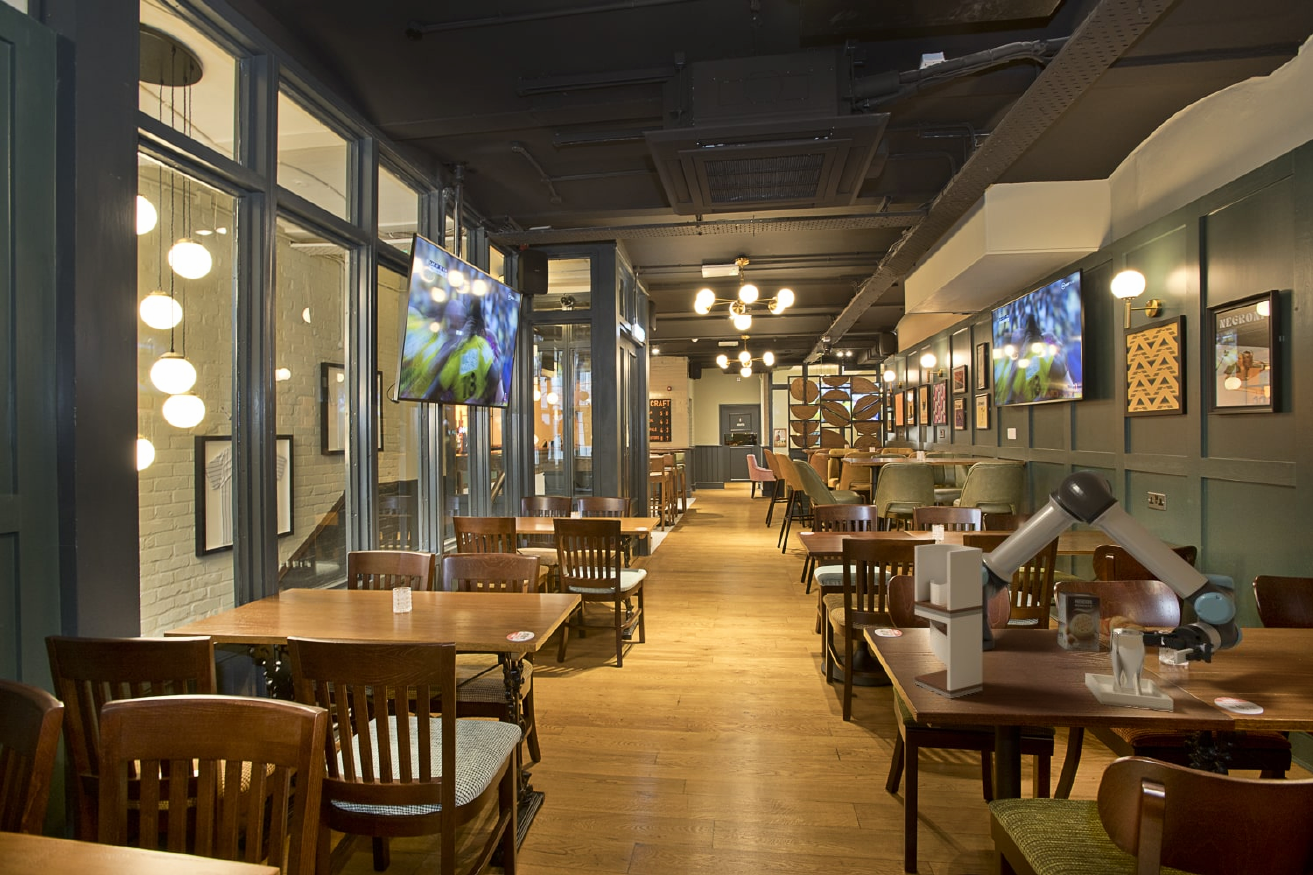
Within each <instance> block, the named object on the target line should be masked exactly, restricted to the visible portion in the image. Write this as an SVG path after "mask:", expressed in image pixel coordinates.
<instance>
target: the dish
mask: <svg viewBox="0 0 1313 875" xmlns="http://www.w3.org/2000/svg"><path fill="white" fill-rule="evenodd" d="M1084 675H1085V677H1084V678H1085V679H1084V680H1085V682H1084V683H1085V685H1086V687H1087V688H1088V689H1089V691H1090V692H1091V693H1092V694H1093V695H1094V697H1095V699H1097V701H1098V702H1099V704H1100V705H1103V706H1104V704H1105V706H1111V705H1114V706H1113V707H1120V706H1131V707H1138V708H1149V709H1156V710H1169V711H1173V712H1174V699H1173V698H1171V697H1170V696H1169V695H1168V693H1166V692H1165V691H1164V690H1163V689H1162V688H1161V687H1160V686H1158V684H1156V682H1154V681H1153V680H1152V679H1147V678H1141V688H1142V693H1143V695H1133V694H1124V693H1115V692H1112V687H1113V683H1114V675H1110V674H1109V675H1108V674H1101V673H1100V674H1099V673H1089V672H1085V674H1084Z"/></svg>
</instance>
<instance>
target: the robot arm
mask: <svg viewBox="0 0 1313 875" xmlns="http://www.w3.org/2000/svg"><path fill="white" fill-rule="evenodd" d="M1113 494H1114V493H1113V486H1112V484H1111V482H1110V480H1109V479H1108V478H1107V477H1106V476H1105V475H1104V474H1102V473H1101V472H1099V471H1096V470H1092V469H1082V470H1079V471H1075V472H1072V473H1068V474H1067V475H1066V476H1065V477H1064V478H1062V480H1061V481H1060V484H1058V487H1056V488H1055V489H1054V490H1053V491H1052V492H1051V493H1049V501H1048V503H1046V504H1045V505H1044V506H1042V508H1041V509H1039V510H1038V511H1037V512H1036V513H1034V514H1033V515H1032V516H1031V517H1030V518H1029V519H1027V521H1026V522H1024V523H1023V524H1022V525H1021V526H1020V527H1018V528H1017V529H1016V530H1015V531H1014V532H1013V533H1012V534H1010V536H1008V537H1007V538H1006V539H1005V540H1003V542H1001V543H1000V544H999V545H998V546H997V547H995V549H993V550H992V551H991V552H982V652H984V651H990V650H993V649H994V648H995V637H994V634H993V631H992V629H991V626H990V623H989V619H988V618H989V600H991V599H994V598H995V597H997V596H998V595H999V594H1000V593H1001V592H1002V591H1003V589H1005V588H1006V587H1007V586H1008V585H1009V584H1011V583H1012V582H1013V575H1014V573H1016V572H1017V571H1018V570H1019V569H1020V568H1021V567H1022V566H1023V565H1025V564H1027V563H1028V562H1029V561H1030V560H1031V559H1032V558H1034V557H1035V556H1036V555H1037V554H1039V552H1041V551H1042V550H1043V549H1044V548H1045V547H1047V546H1048V545H1049V544H1050V543H1051V542H1053V540H1055V539H1056V538H1057V537H1058V536H1060V535H1061V534H1062V533H1064V532H1065V531H1066V530H1067V529H1068V528H1069V527H1070V526H1072V525H1073V524H1083V523H1084V522H1085V523H1086V524H1087V525H1089V526H1090V527H1097V528H1098V529H1099V530H1100V531H1102V532H1103V533H1104V534H1105V535H1107V536H1108V537H1109V538H1110V539H1111V540H1113V542H1115V543H1116V544H1117V545H1118V546H1120V548H1122V550H1124V551H1125V552H1127V553H1128V554H1129V555H1130V556H1131V557H1133V559H1135V560H1136V561H1137V562H1138V563H1140V564H1141V565H1142V566H1143V567H1145V569H1147V570H1148V571H1150V573H1151V574H1152V575H1154V576H1155V577H1157V579H1158V580H1160V582H1162V583H1163V584H1165V585H1166V586H1167V587H1168V588H1169V589H1171V590H1172V591H1173V592H1174V593H1175V594H1177V595H1178V597H1180V598H1181V599H1182V600H1184V602H1185V603H1187V604H1188V605H1189V606H1190V607H1191V608H1192V609H1193V610H1194V611H1195V613H1196V614H1197V622H1194V623H1189V624H1186V625H1185V624H1183V625H1178V626H1177V627H1175V628H1173V630H1172V631H1171V632H1166V633H1165V632H1159V631H1158V630H1157V629H1152V630H1147V631H1140V632H1142V633H1144V641H1145V646H1146V645H1147V646H1157V647H1159V648H1160V649H1161V648H1163V649H1171V650H1176V651H1173V664H1174V665H1181V664H1185V663H1189V662H1194V661H1196V662H1201V661H1204V663H1206V664H1211V663H1212V656H1214V655H1215V652H1218V651H1224V650H1225V651H1226V650H1229V649H1232V648H1234V647H1236V646H1238V645H1239V644H1241V642H1242V640H1243V637H1244V636H1243V630H1242V629H1241V627H1240V626H1239V625H1238V624H1237V623H1236V621H1235V614H1236V612H1237V610H1236V609H1237V608H1236V603H1235V591H1236V589H1235V581H1234V579H1233V578H1232V577H1230V576H1228V575H1224V574H1223V575H1221V574H1217V573H1216V574H1214V573H1200V572H1199V571H1198V570H1197V569H1195V568H1194V567H1193V566H1192V565H1191V564H1190V563H1188V562H1187V561H1186V560H1185V559H1183V557H1181V556H1180V555H1179V554H1178V553H1176V552H1175V551H1174V550H1172V548H1170V547H1169V546H1168V545H1167V544H1165V543H1164V542H1163V541H1161V539H1159V538H1158V537H1157V536H1156V535H1154V534H1153V533H1152V532H1150V531H1149V530H1148V529H1147V528H1146V527H1144V525H1142V524H1141V523H1140V522H1139V521H1137V520H1136V519H1135V518H1133V516H1131V515H1130V514H1129V513H1127V512H1126V511H1125V510H1124V509H1122V508H1121V505H1120V504H1121V503H1120V502H1121V501H1119V500H1118V499H1117V498H1115V497H1114V496H1113Z"/></svg>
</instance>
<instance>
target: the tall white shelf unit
mask: <svg viewBox="0 0 1313 875" xmlns="http://www.w3.org/2000/svg"><path fill="white" fill-rule="evenodd" d="M982 553H983V548H979V547H974V546H973V547H972V546H968V545H959V544H953V543H947V542H944V543H943V542H942V543H932V544H922V545H914V615H916V616H919V617H923V618H925V619H926V618H927V619H928V620H929V648H930V651H931V652H932V655H934V656H935V658H936V659H938V660H939V661H940V662H941V663H942V664H944V665H946V669H943V670H938V671H934V672H930V673H926V674H922V675H917V676H914V684H915V683H916V684H918V685H920V686H922V687H924V688H926V689H931V690H933V691H935V692H937V693H940V694H941V695H944V696H948V697H949V698H951V697H956V696H962V697H964V696H963V695H966V696H968V695H967V694H970V695H972V694H971V693H974V692H978V691H982V692H983V651H982ZM924 688H923V689H924ZM926 689H925V690H926ZM978 693H979V692H978ZM974 694H975V693H974ZM941 695H940V696H941Z"/></svg>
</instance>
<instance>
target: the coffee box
mask: <svg viewBox="0 0 1313 875" xmlns="http://www.w3.org/2000/svg"><path fill="white" fill-rule="evenodd" d="M1057 599H1058V606H1057V608H1058V609H1057V611H1058V612H1057V644H1058V645H1059V646H1061V648H1063V649H1065V650H1069V651H1083V652H1100V632H1099V630H1100V619H1101V617H1100V615H1101V613H1100V610H1101V607H1100V606H1101V597H1100V596H1098V595H1096V594H1093V593H1091V592H1078V591H1061V590H1058V598H1057Z"/></svg>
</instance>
